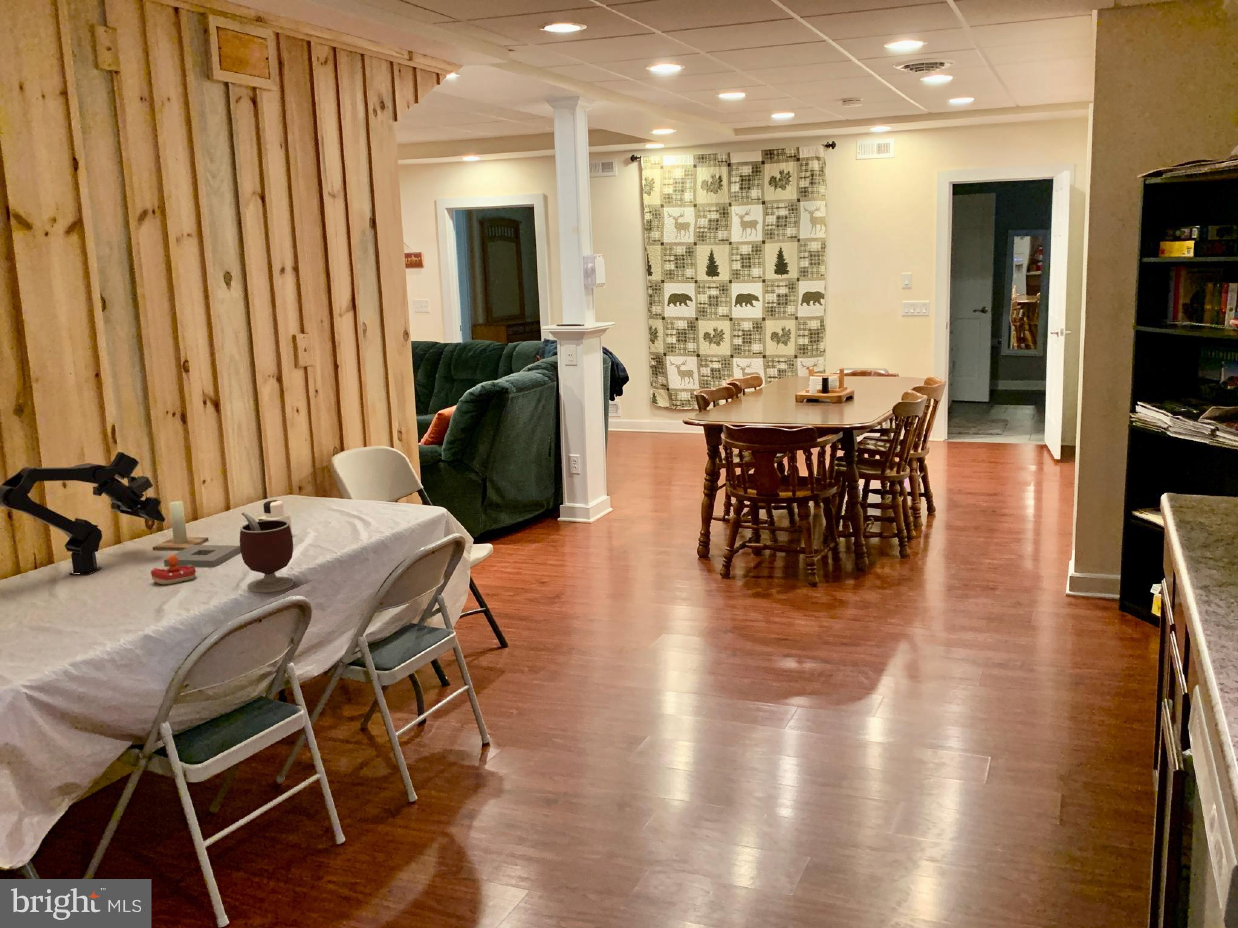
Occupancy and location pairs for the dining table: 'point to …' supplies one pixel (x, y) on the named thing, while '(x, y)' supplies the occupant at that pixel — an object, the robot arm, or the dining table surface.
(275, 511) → the medicine bottle
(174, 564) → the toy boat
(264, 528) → the mate gourd
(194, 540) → the copper sheet
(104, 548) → the dining table surface
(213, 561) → the cover plate
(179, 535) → the key peg
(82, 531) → the robot arm
